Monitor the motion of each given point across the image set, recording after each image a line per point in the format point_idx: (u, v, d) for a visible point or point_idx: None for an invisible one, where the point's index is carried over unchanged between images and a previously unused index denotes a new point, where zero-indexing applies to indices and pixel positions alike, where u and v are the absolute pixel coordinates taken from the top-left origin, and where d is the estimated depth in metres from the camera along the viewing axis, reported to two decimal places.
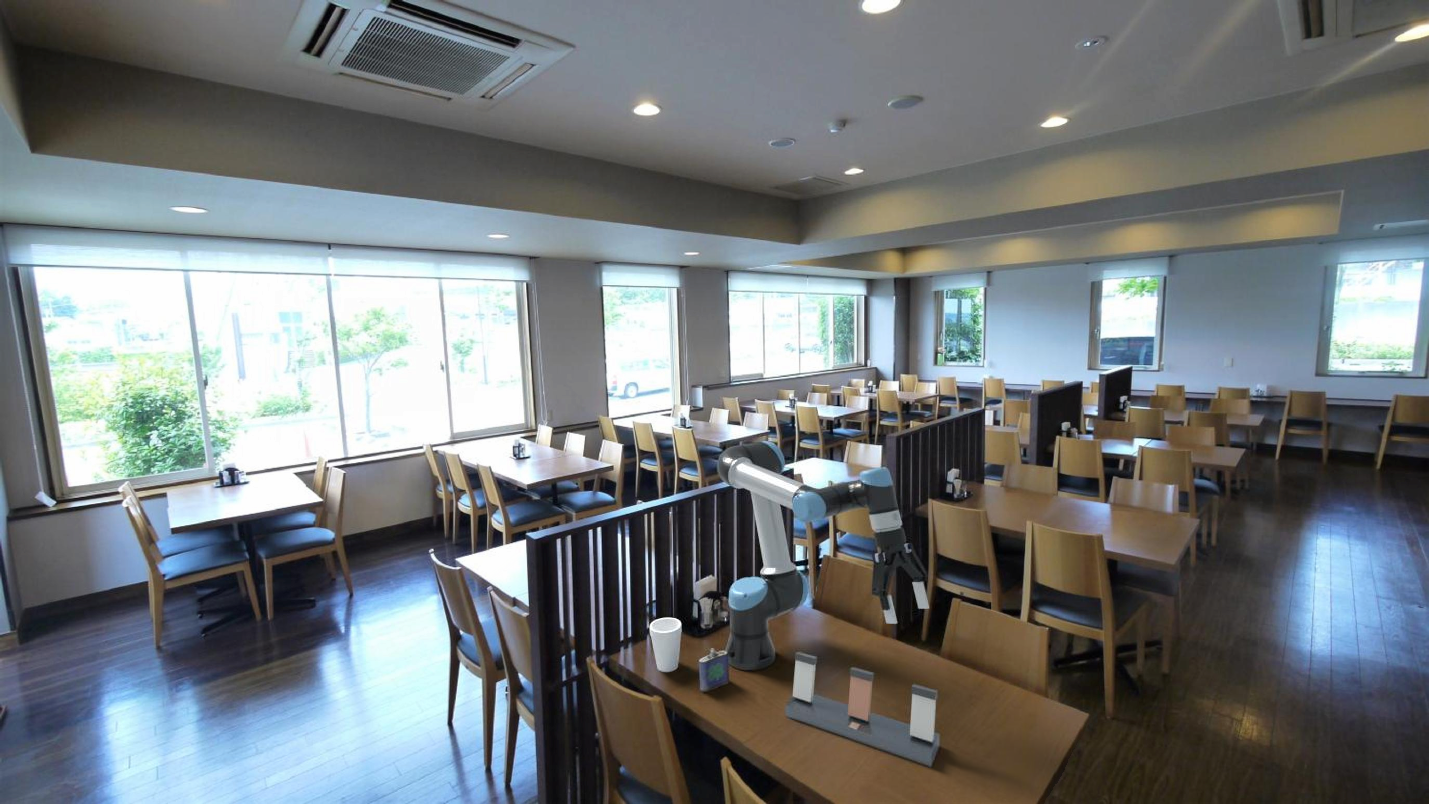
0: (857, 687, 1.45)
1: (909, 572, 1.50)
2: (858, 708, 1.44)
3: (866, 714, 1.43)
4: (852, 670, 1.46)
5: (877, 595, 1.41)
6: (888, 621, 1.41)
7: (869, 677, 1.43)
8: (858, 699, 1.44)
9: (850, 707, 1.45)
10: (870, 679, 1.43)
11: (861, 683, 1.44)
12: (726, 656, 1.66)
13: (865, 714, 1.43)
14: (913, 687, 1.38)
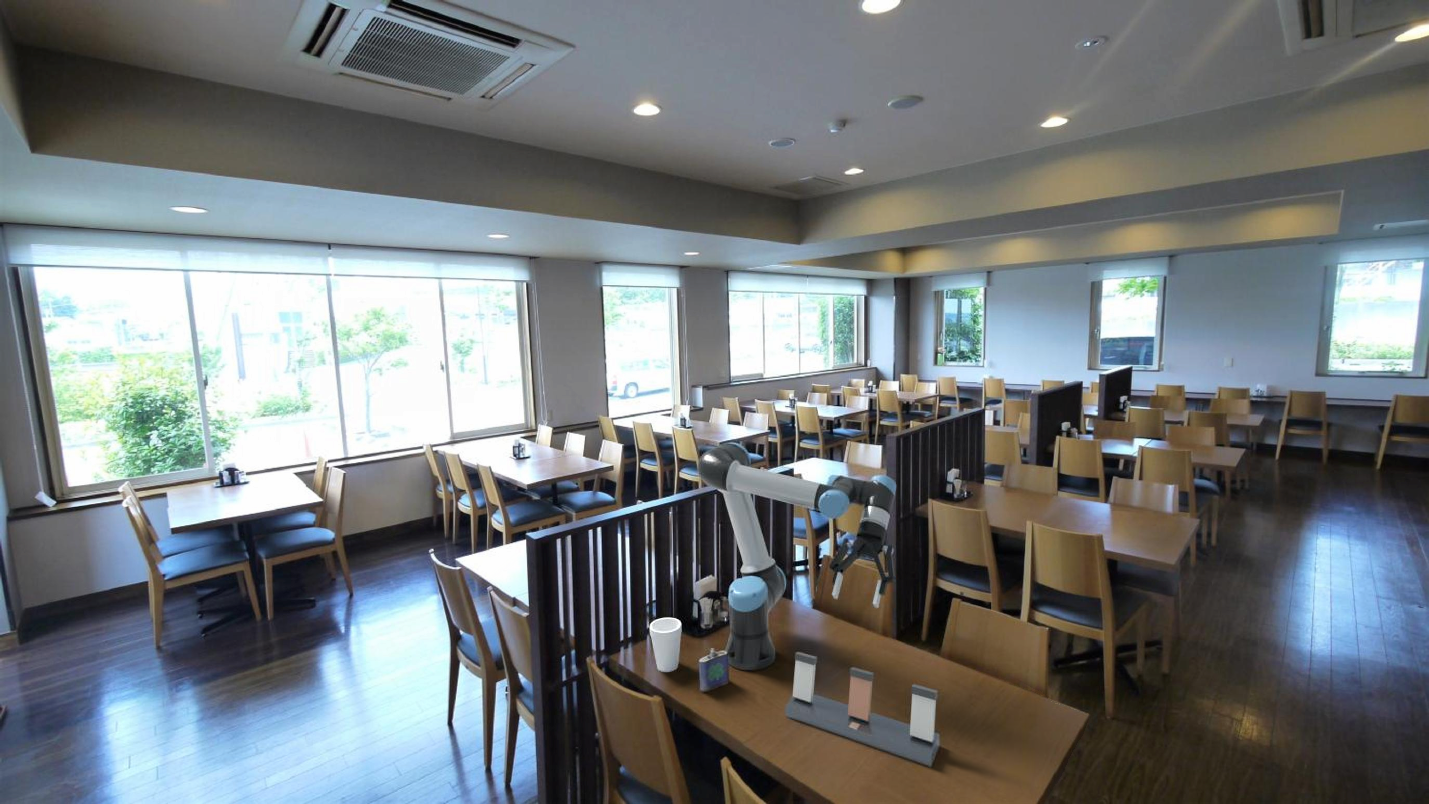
0: (857, 687, 1.45)
1: (847, 563, 1.62)
2: (858, 708, 1.44)
3: (866, 714, 1.43)
4: (852, 670, 1.46)
5: (888, 581, 1.54)
6: (876, 603, 1.51)
7: (869, 677, 1.43)
8: (858, 699, 1.44)
9: (850, 707, 1.45)
10: (870, 679, 1.43)
11: (861, 683, 1.44)
12: (726, 656, 1.66)
13: (865, 714, 1.43)
14: (913, 687, 1.38)
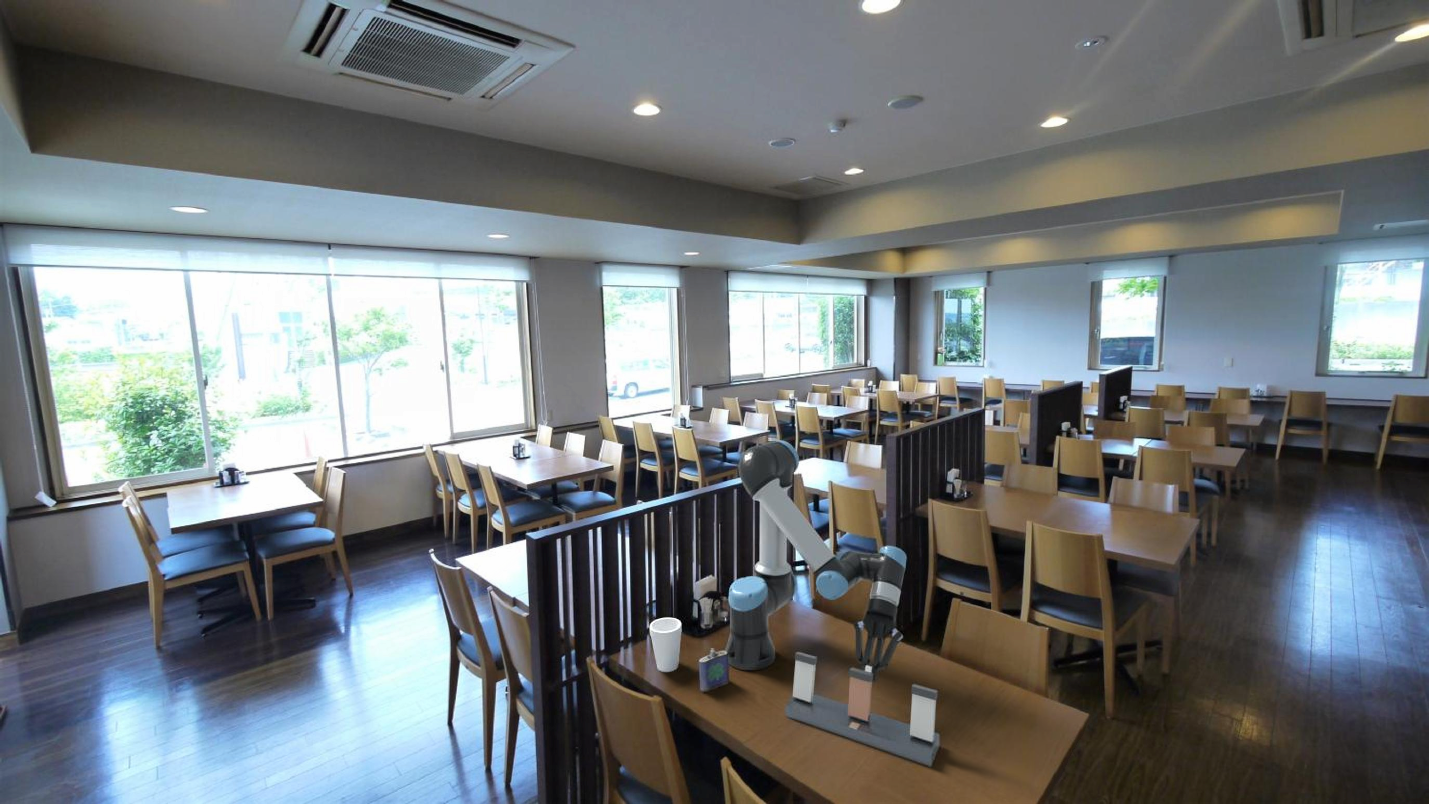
0: (857, 687, 1.44)
1: (870, 650, 1.51)
2: (858, 708, 1.44)
3: (866, 714, 1.43)
4: (851, 671, 1.45)
5: (880, 667, 1.48)
6: None
7: (868, 678, 1.43)
8: (858, 699, 1.44)
9: (850, 707, 1.45)
10: (869, 680, 1.43)
11: (860, 684, 1.44)
12: (726, 656, 1.66)
13: (865, 714, 1.43)
14: (913, 687, 1.38)
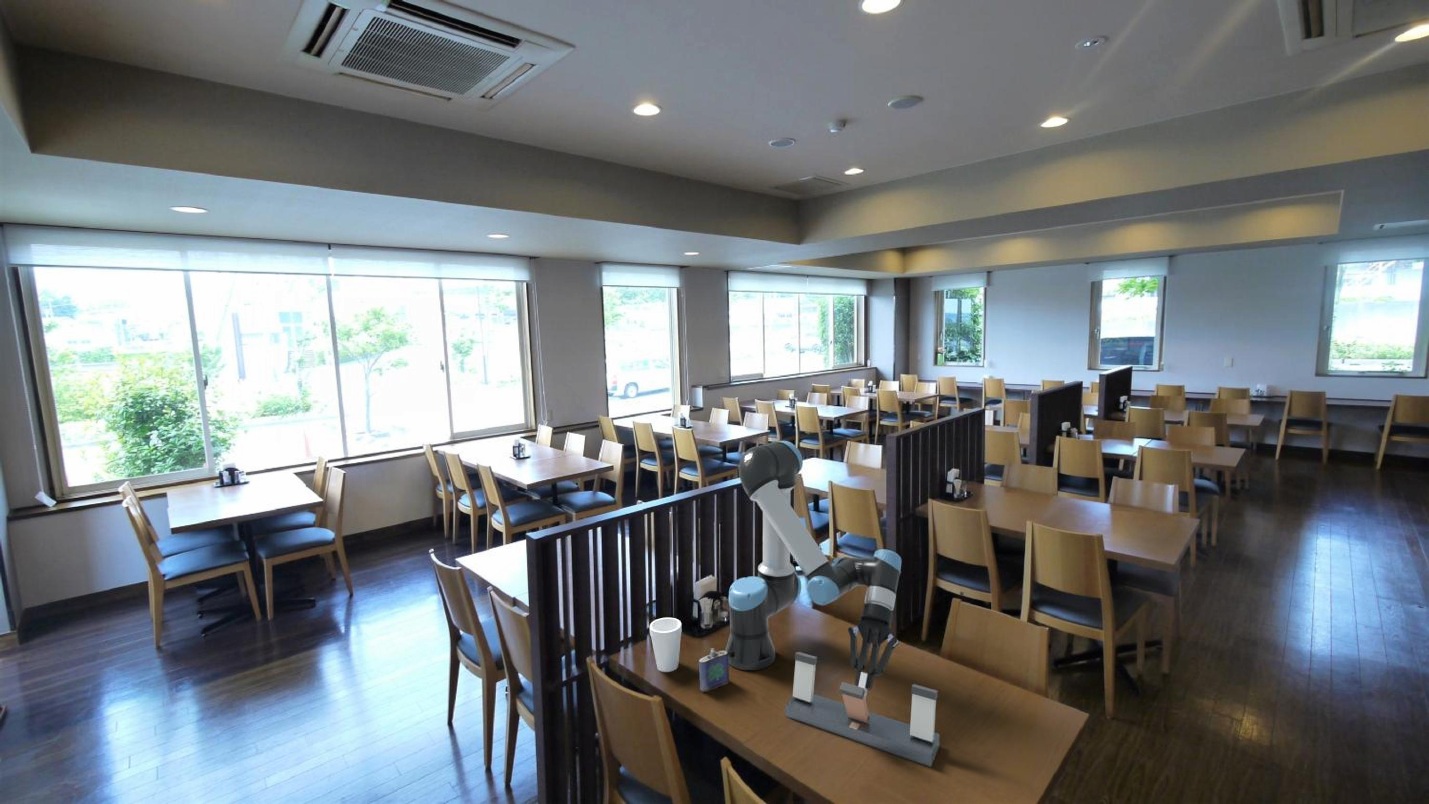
0: (850, 701, 1.41)
1: (865, 656, 1.49)
2: (856, 714, 1.43)
3: (865, 718, 1.42)
4: (842, 690, 1.40)
5: (875, 674, 1.45)
6: None
7: (860, 696, 1.38)
8: (854, 708, 1.42)
9: (848, 712, 1.44)
10: (861, 698, 1.38)
11: (853, 699, 1.40)
12: (726, 656, 1.66)
13: (864, 718, 1.42)
14: (913, 687, 1.38)
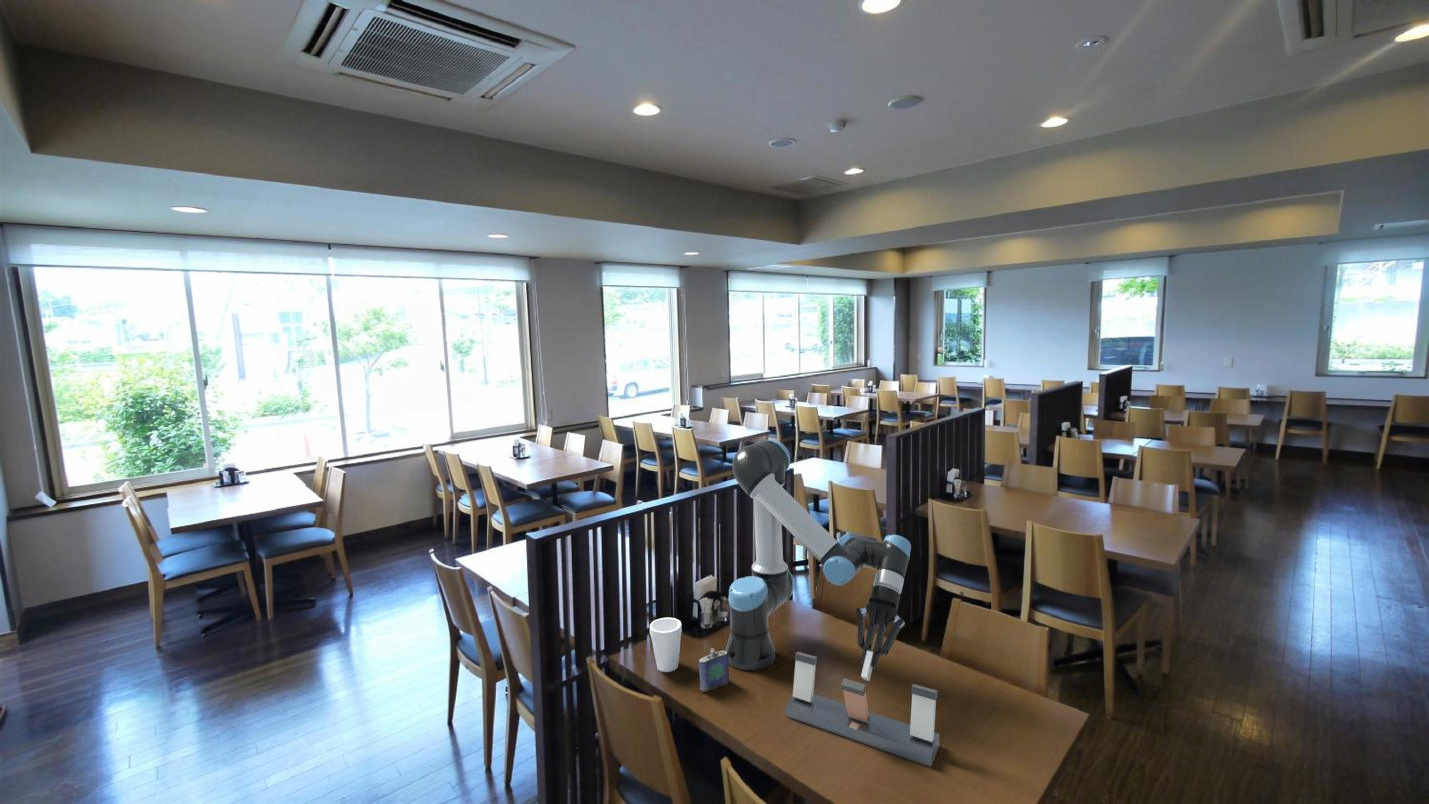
0: (851, 698, 1.41)
1: (871, 636, 1.53)
2: (856, 713, 1.43)
3: (865, 718, 1.42)
4: (843, 686, 1.41)
5: (881, 653, 1.50)
6: (867, 677, 1.47)
7: (861, 692, 1.39)
8: (855, 706, 1.42)
9: (848, 711, 1.44)
10: (862, 694, 1.39)
11: (854, 695, 1.41)
12: (726, 656, 1.66)
13: (864, 718, 1.42)
14: (913, 687, 1.38)
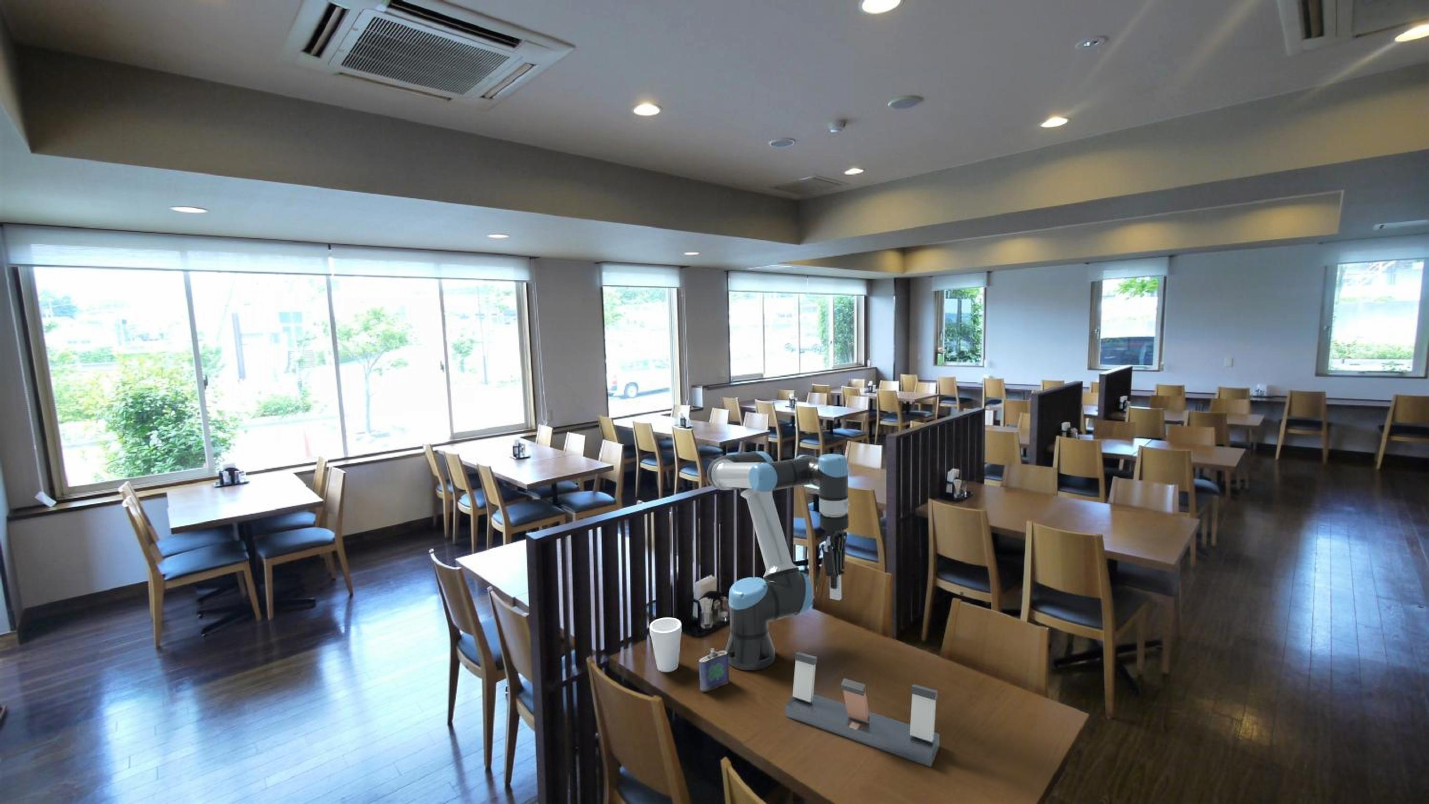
0: (851, 698, 1.41)
1: None
2: (856, 713, 1.43)
3: (865, 718, 1.42)
4: (843, 686, 1.41)
5: None
6: (832, 597, 1.58)
7: (861, 692, 1.39)
8: (855, 706, 1.42)
9: (848, 711, 1.44)
10: (862, 694, 1.39)
11: (854, 695, 1.41)
12: (726, 656, 1.66)
13: (864, 718, 1.42)
14: (913, 687, 1.38)
